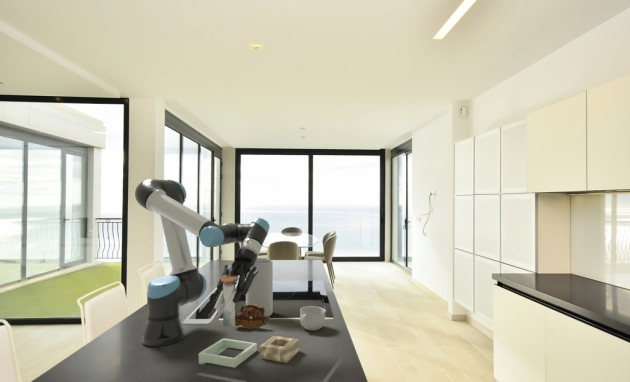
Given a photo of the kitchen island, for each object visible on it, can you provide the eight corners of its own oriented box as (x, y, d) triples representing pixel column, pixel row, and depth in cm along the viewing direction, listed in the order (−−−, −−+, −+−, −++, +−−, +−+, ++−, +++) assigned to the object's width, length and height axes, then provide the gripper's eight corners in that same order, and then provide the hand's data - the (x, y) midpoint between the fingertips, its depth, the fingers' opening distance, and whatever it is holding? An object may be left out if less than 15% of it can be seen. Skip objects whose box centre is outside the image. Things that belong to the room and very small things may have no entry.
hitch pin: (217, 326, 124) (217, 277, 125) (226, 321, 130) (226, 274, 130) (231, 328, 122) (231, 278, 123) (240, 323, 128) (240, 275, 128)
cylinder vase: (268, 319, 166) (268, 264, 167) (241, 317, 169) (241, 263, 169) (275, 311, 179) (275, 259, 179) (251, 309, 181) (251, 258, 181)
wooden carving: (230, 329, 154) (230, 305, 154) (233, 325, 158) (233, 302, 158) (268, 331, 151) (268, 307, 151) (271, 327, 156) (271, 304, 156)
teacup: (311, 322, 162) (311, 304, 163) (330, 327, 156) (330, 308, 156) (289, 331, 152) (289, 311, 152) (309, 337, 145) (309, 316, 145)
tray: (198, 363, 122) (198, 353, 122) (223, 347, 135) (223, 338, 135) (234, 370, 117) (234, 359, 117) (256, 353, 130) (256, 343, 130)
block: (259, 360, 124) (259, 346, 124) (273, 349, 133) (273, 335, 133) (286, 365, 120) (286, 350, 120) (298, 353, 129) (298, 339, 130)
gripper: (224, 246, 139) (196, 302, 123) (264, 248, 133) (240, 306, 117) (232, 258, 144) (206, 313, 128) (271, 260, 138) (248, 318, 122)
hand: (222, 310), depth 122 cm, fingers closed on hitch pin, 4 cm apart
